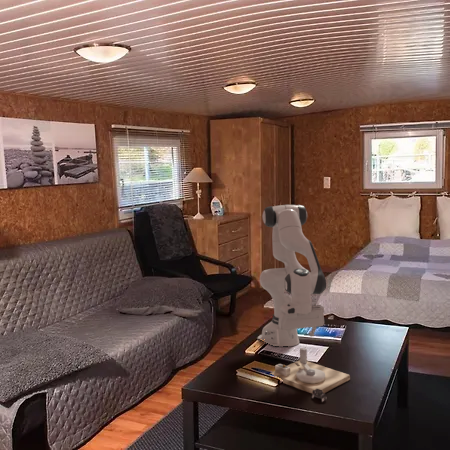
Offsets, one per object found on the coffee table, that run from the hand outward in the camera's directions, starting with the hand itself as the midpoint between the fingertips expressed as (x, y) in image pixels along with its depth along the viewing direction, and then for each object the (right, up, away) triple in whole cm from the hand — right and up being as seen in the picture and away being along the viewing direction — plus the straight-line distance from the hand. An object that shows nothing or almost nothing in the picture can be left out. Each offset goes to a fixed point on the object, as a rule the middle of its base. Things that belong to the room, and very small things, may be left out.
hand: (301, 337), depth 229 cm
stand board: (+3, -17, -4) cm, 18 cm away
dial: (+2, -15, -5) cm, 16 cm away
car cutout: (+6, -20, -26) cm, 33 cm away
